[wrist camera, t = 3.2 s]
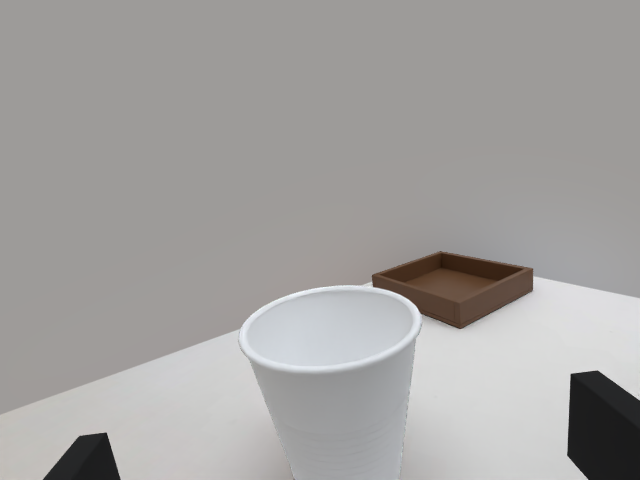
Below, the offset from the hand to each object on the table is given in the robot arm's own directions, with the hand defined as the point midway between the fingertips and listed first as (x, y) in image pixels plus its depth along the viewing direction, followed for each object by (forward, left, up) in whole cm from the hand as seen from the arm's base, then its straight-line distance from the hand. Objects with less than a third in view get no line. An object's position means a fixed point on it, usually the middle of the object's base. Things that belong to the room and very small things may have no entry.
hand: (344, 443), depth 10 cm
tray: (+32, -23, -12) cm, 41 cm away
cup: (+9, -2, -12) cm, 15 cm away
